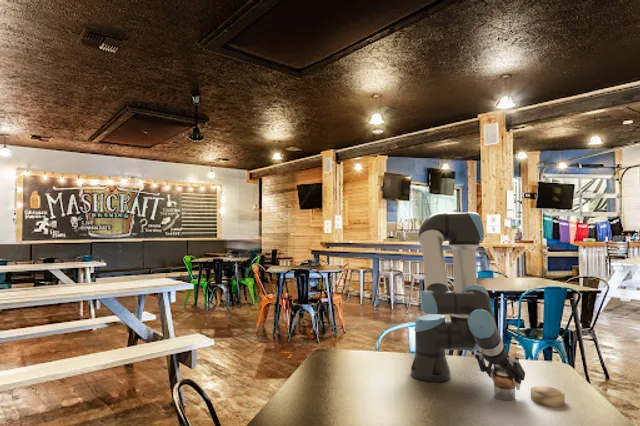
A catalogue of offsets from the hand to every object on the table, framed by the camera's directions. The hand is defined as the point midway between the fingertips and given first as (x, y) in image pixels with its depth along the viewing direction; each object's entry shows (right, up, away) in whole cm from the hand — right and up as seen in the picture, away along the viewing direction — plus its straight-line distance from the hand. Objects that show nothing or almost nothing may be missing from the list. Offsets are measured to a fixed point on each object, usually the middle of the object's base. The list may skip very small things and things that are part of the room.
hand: (507, 383), depth 145 cm
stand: (+11, -3, -6) cm, 13 cm away
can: (-2, -3, -3) cm, 5 cm away
